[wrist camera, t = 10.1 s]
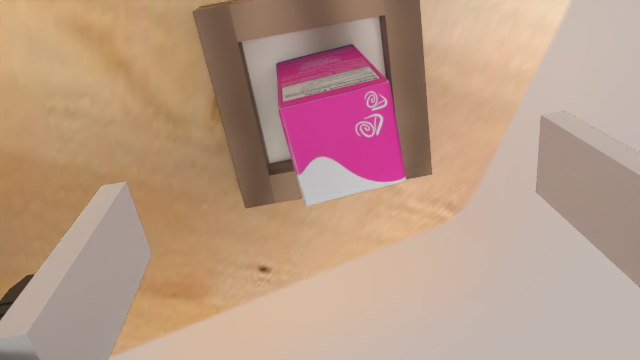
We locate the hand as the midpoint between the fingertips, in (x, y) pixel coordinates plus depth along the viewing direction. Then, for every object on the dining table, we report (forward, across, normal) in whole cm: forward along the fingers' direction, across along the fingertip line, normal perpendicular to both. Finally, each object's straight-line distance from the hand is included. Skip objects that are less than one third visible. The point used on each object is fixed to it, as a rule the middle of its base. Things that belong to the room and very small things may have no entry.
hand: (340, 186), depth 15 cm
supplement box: (+20, +1, -2) cm, 21 cm away
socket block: (+21, +1, -2) cm, 21 cm away
